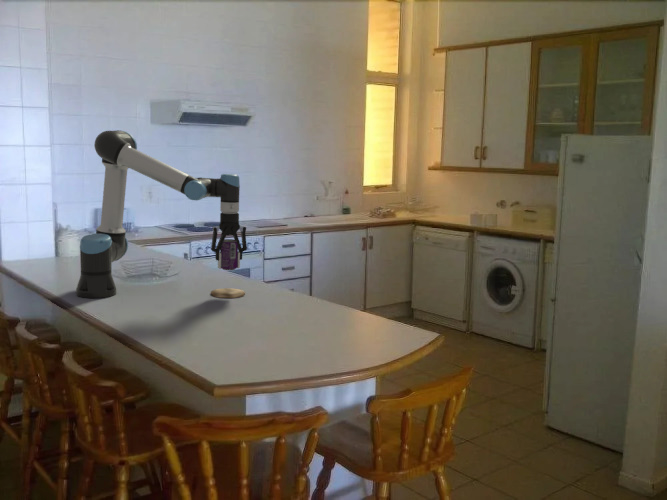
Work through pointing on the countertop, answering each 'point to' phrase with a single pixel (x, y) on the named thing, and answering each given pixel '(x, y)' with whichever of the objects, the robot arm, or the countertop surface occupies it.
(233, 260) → the beverage can
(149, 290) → the countertop surface
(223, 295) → the coaster
